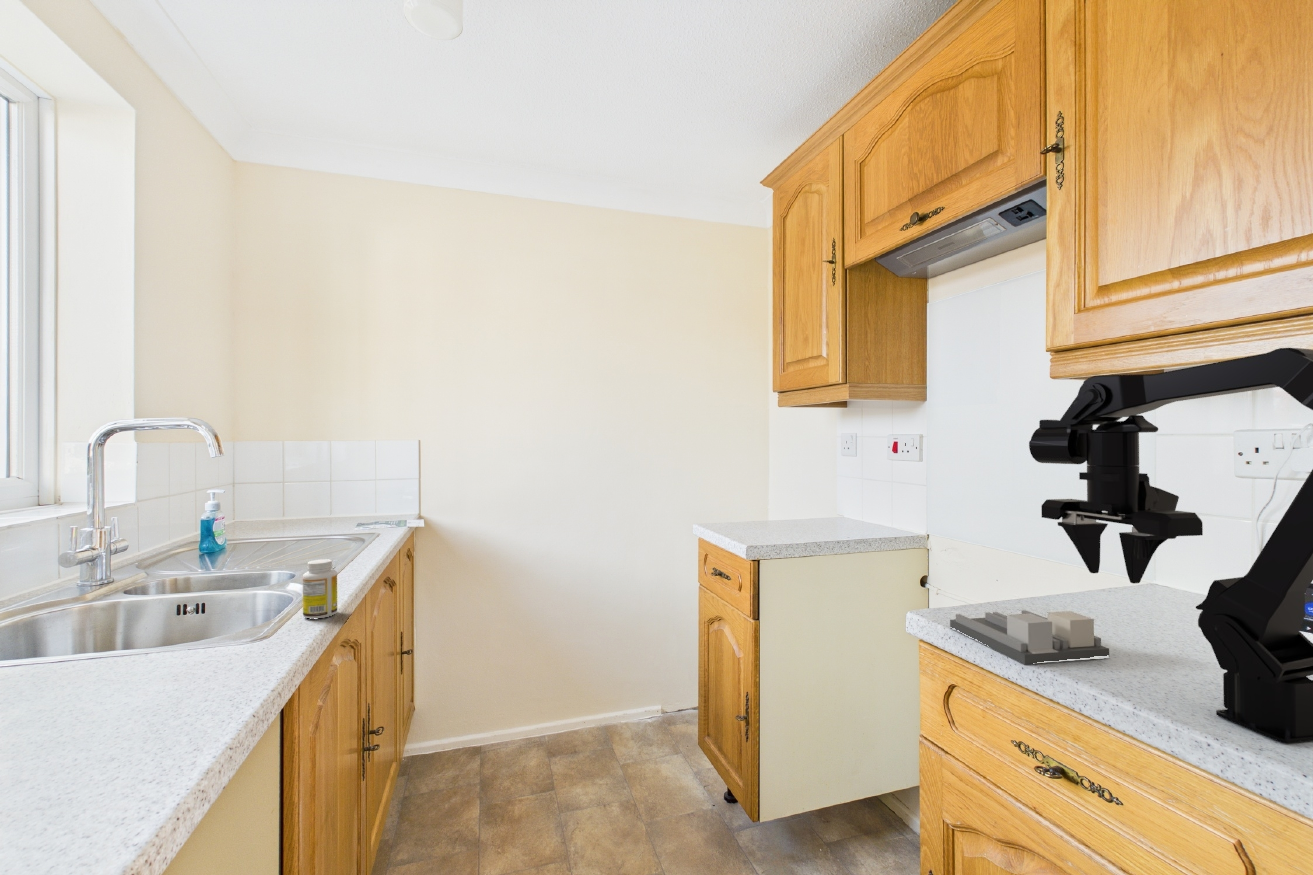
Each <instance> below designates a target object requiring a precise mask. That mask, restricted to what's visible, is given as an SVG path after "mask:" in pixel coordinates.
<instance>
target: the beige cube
mask: <svg viewBox="0 0 1313 875" xmlns="http://www.w3.org/2000/svg"><path fill="white" fill-rule="evenodd" d="M1046 615H1047V618H1048V620H1049V621H1052V634H1053V635H1056V636H1058V637H1061V638H1063V639H1066V640H1068V647H1070V648H1073V647H1088V646H1094V636H1095V619H1094V618H1092V617H1088V616H1086V615H1083V614H1081V613H1077V612H1074V611H1071V610H1068V611H1067V610H1065V611H1062V610H1061V611H1050V612H1049V611H1048V612H1047V614H1046Z"/></svg>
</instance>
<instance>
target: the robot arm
mask: <svg viewBox="0 0 1313 875" xmlns="http://www.w3.org/2000/svg"><path fill="white" fill-rule="evenodd" d="M1273 388H1279V389H1282V390H1284V391H1285V393H1287V394H1288V395H1289V396H1291V398H1293V399H1295V400H1296V401H1298V402H1299V403H1300V404H1301V405H1303V406H1304V407H1306V408H1308V409H1310V410H1311V411H1313V349H1310V348H1301V347H1300V348H1299V347H1279V348H1276V349H1273V350H1270V351H1268V352H1265V353H1260V354H1259V353H1258V354H1255V355H1248V356H1244V357H1238V358H1232V359H1227V360H1222V361H1218V362H1217V361H1216V362H1212V363H1211V362H1210V363H1206V364H1200V365H1195V366H1191V367H1184V368H1179V369H1174V370H1170V371H1169V370H1168V371H1163V372H1159V373H1143V374H1102V375H1100V374H1099V375H1092V376H1090V377H1088V378H1086V379H1084V380H1083V383H1082V384H1081V386H1080V387H1079V389H1078V392H1077V395H1076V397H1075V398H1074V400H1073V401H1072V403H1071V404H1069V405H1070V406H1069V407H1068V408H1067V410H1066V411H1065V412H1064V413H1063V415H1062V417H1060V419H1040V420H1039V423H1038V424H1039V427H1038V428H1037V429H1036V430H1034V432H1033V433H1032V435H1031V438H1030V440H1029V441H1028V448H1029V451H1030V452H1029V453H1030V455H1031V457H1032V458H1033V459H1034V460H1035V461H1036V462H1037V463H1040V464H1056V465H1057V464H1058V465H1062V464H1064V465H1082V464H1084V463H1086V472H1085V471H1083V472H1082V471H1081V472H1079V475H1078V476H1079V477H1078V478H1079V479H1078V480H1080V481H1081V480H1083V481H1086V491H1087V492H1086V500H1085V499H1084V500H1083V499H1077V498H1076V499H1075V498H1058V499H1057V498H1055V499H1053V498H1052V499H1051V498H1050V499H1046V500H1045V501H1044V502H1043V503H1042V504H1041V518H1044V519H1049V520H1056V521H1057V520H1061V521H1058V522H1057V526H1059V527H1061V528H1062V529H1063V531H1065V532H1064V533H1065V534H1066V535H1067V536H1068V538H1069V539H1070V541H1071V543H1073V545H1074V547H1075V549H1076V551H1077V552H1078V554H1079V555H1080V558H1081V559H1082V561H1083V563H1084V564H1085V567H1086V569H1087V570H1088V571H1089V573H1090V574H1098V573H1099V572H1100V565H1101V538H1102V534H1103V532H1104V531H1105V530H1106V528H1107V527H1108V525H1109V524H1108V523H1115V524H1123V525H1130V526H1132V527H1131V531H1128V532H1127V531H1126V532H1125V531H1124V532H1118V535H1119V540H1120V545H1121V550H1122V554H1123V559H1124V564H1125V565H1124V566H1125V569H1126V573H1127V576H1128V580H1129V582H1130V583H1131V584H1140V583H1141V581H1142V578H1143V576H1144V575H1145V572H1146V570H1147V568H1148V566H1149V563H1150V561H1151V560H1152V557H1153V556H1154V554H1155V552H1156V551H1157V549H1158V548H1159V547H1160V546H1161V545H1162V544H1163V543H1165V542H1166V541H1167V540H1172V539H1173V540H1175V539H1176V538H1177V537H1195V536H1203V531H1204V529H1203V527H1204V526H1203V520H1202V519H1201V518H1200V517H1199V515H1198V514H1197V513H1196V512H1192V511H1182V510H1176V509H1177V505H1178V503H1179V500H1180V496H1179V495H1176V494H1174V493H1172V492H1169V491H1167V490H1165V489H1161V488H1159V487H1156V486H1152V485H1151V484H1150V477H1149V476H1148V473H1142V472H1140V434H1139V433H1142V434H1143V433H1157V432H1158V431H1159V428H1158V426H1156V425H1154V424H1153V423H1151V422H1149V421H1148V420H1147V419H1146V418H1145V416H1143V415H1142V414H1144V413H1145V414H1146V413H1148V412H1151V411H1155V410H1156V409H1159V408H1162V407H1163V406H1166V405H1169V404H1172V403H1175V402H1181V401H1182V402H1183V401H1190V400H1194V399H1204V398H1210V397H1217V396H1218V397H1219V396H1224V395H1231V394H1238V393H1239V394H1240V393H1244V392H1253V391H1259V390H1265V389H1266V390H1268V389H1273ZM1284 391H1283V392H1284ZM1122 418H1126V419H1125V420H1120V419H1122ZM1094 426H1097V427H1096V428H1095V429H1094ZM1099 521H1101V522H1099ZM1102 521H1103V522H1102ZM1104 522H1105V523H1104ZM1106 522H1108V523H1106ZM1311 583H1313V468H1312V469H1311V471H1310V472H1309V474H1308V476H1307V478H1306V479H1305V481H1304V482H1303V484H1302V486H1301V487H1300V489H1299V491H1297V493H1296V495H1295V496H1294V499H1293V501H1292V502H1291V503H1290V505H1289V507H1288V508H1287V510H1286V511H1285V513H1284V514H1283V516H1282V518H1281V519H1280V521H1279V522H1278V524H1277V525H1276V527H1275V528H1274V530H1273V532H1272V534H1270V537H1269V538H1268V540H1267V541H1266V543H1265V545H1264V546H1263V547H1262V549H1261V550H1260V552H1259V554H1258V556H1257V558H1256V559H1255V561H1254V562H1253V564H1252V565H1251V567H1250V568H1249V570H1248V572H1247V573H1246V574H1245V575H1244V576H1241V577H1240V576H1239V577H1232V578H1221V579H1215V580H1213V581H1212V582H1211V585H1210V586H1209V589H1208V591H1207V594H1206V597H1205V599H1204V600H1203V601H1202V602H1201V603H1199V604H1197V605H1196V606H1195V609H1197V610H1199V611H1201V612H1200V613H1199V616H1198V618H1197V626H1198V628H1200V629H1201V630H1200V631H1201V633H1202V635H1203V637H1204V638H1205V639H1206V640H1207V642H1208V643H1209V644H1210V646H1211V649H1212V651H1213V654H1214V656H1215V658H1216V661H1217V663H1218V666H1219V667H1220V669H1222V670H1225V671H1226V672H1223V677H1222V678H1223V682H1222V683H1223V685H1222V686H1223V689H1222V690H1223V694H1222V695H1223V707H1224V708H1225V709H1218V710H1216V711H1215V714H1216V716H1217V715H1218V716H1217V717H1220V718H1222V719H1224V720H1227V721H1229V722H1232V723H1234V724H1236V725H1238V726H1242V727H1243V728H1246V729H1248V730H1250V731H1253V732H1255V733H1258V734H1259V735H1262V736H1265V737H1267V738H1269V739H1272V740H1274V741H1277V742H1279V743H1283V744H1293V743H1301V742H1310V741H1313V679H1310V678H1309V676H1313V642H1311V640H1309V638H1307V637H1306V635H1304V634H1303V633H1302V632H1301V631H1300V630H1301V627H1302V625H1303V623H1304V619H1305V616H1306V608H1305V607H1306V603H1305V602H1306V601H1305V600H1306V599H1305V597H1306V596H1305V595H1306V591H1307V589H1308V588H1310V585H1311Z"/></svg>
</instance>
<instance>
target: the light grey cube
mask: <svg viewBox="0 0 1313 875" xmlns="http://www.w3.org/2000/svg"><path fill="white" fill-rule="evenodd" d="M1006 616H1007V635H1008V636H1011V637H1013V638H1015V639H1017V640H1020V641H1022V642H1024V643H1026V650H1028V651H1031V650H1045V649H1053V641H1052V621H1049V620H1047V619H1044V618H1041V617H1039V616H1036V615H1033V614H1031V613H1028V614H1022V613H1014V614H1012V613H1011V614H1007V615H1006Z"/></svg>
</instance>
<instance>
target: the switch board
mask: <svg viewBox="0 0 1313 875" xmlns="http://www.w3.org/2000/svg"><path fill="white" fill-rule="evenodd" d="M1028 613H1031V614H1033V615H1036V616H1039V617H1041V618H1044V619H1047V620H1048V617H1044V616H1042V615H1040V614H1037V613H1034V612H1032V611H1029V610H1026V609H1024V610H1023V609H1022V610H1021V614H1028ZM984 616H985V617H972V618H970V617H967V616H965V615H962V614H960V613H959V614H957V613H956V614H955V619H954V618H953V619H949V625H950V626H949V628H950V627H952V628H955V629H956V630H959V631H960V632H962V633H964V634H966V635H968V636H970V637H972V638H974V639H977V640H978V641H980V642H982V643H983V644H986V645H988V646H989V647H991V648H993V649H992V650H993V651H994V652H995V651H996V652H997V653H1000V654H1001V655H1003V656H1005V657H1007V658H1010V659H1012V660H1013V661H1016V662H1017V663H1020V664H1021V665H1024V666H1028V665H1031V664H1032V665H1034V664H1033V663H1037V662H1044V661H1059V660H1067V659H1080V658H1090V657H1094V656H1107V655H1109V656H1110V648H1109V647H1106V646H1103V645H1102V637H1100V636H1096V635H1094V646H1088V647H1073V648H1070V647H1068V640H1066V639H1063V638H1061V637H1058V636H1056V635H1053V634H1052V641H1053V649H1045V650H1031V651H1028V650H1026V643H1024V642H1022V641H1020V640H1017V639H1015V638H1013V637H1011V636H1008V635H1007V615H1006V614H1003V613H1000V612H998V611H993V612H985V614H984ZM983 644H982V645H983ZM989 647H988V648H989ZM991 648H990V649H991Z"/></svg>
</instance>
